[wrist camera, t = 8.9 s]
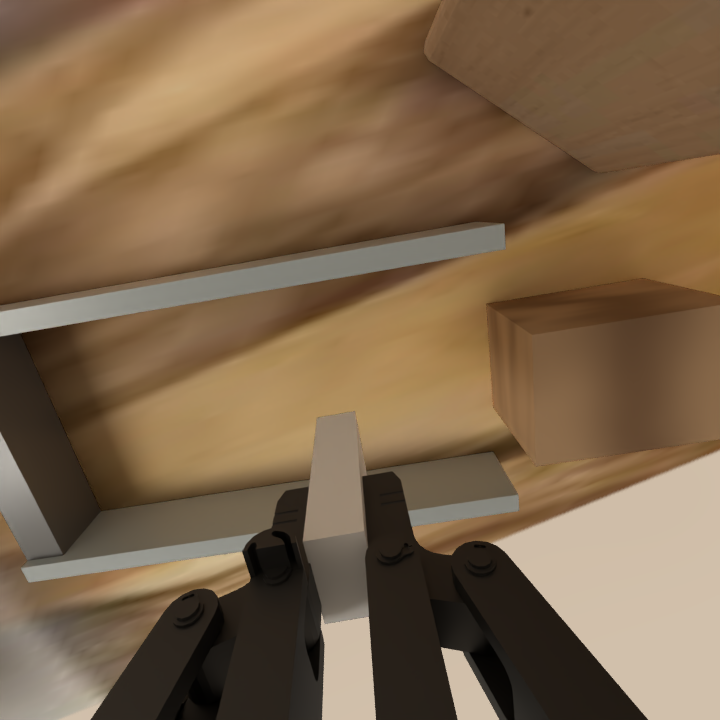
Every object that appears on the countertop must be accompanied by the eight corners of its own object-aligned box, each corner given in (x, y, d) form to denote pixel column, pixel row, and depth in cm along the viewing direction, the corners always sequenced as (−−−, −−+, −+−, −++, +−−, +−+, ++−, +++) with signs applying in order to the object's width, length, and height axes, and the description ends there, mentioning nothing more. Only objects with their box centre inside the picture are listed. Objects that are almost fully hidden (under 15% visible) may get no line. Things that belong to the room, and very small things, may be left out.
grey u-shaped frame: (75, 528, 26) (28, 582, 22) (-31, 310, 21) (-113, 331, 18) (494, 465, 25) (519, 510, 21) (476, 221, 20) (504, 223, 17)
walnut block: (492, 406, 24) (535, 466, 18) (485, 303, 22) (532, 335, 16) (635, 384, 23) (724, 438, 18) (641, 278, 22) (744, 301, 16)
